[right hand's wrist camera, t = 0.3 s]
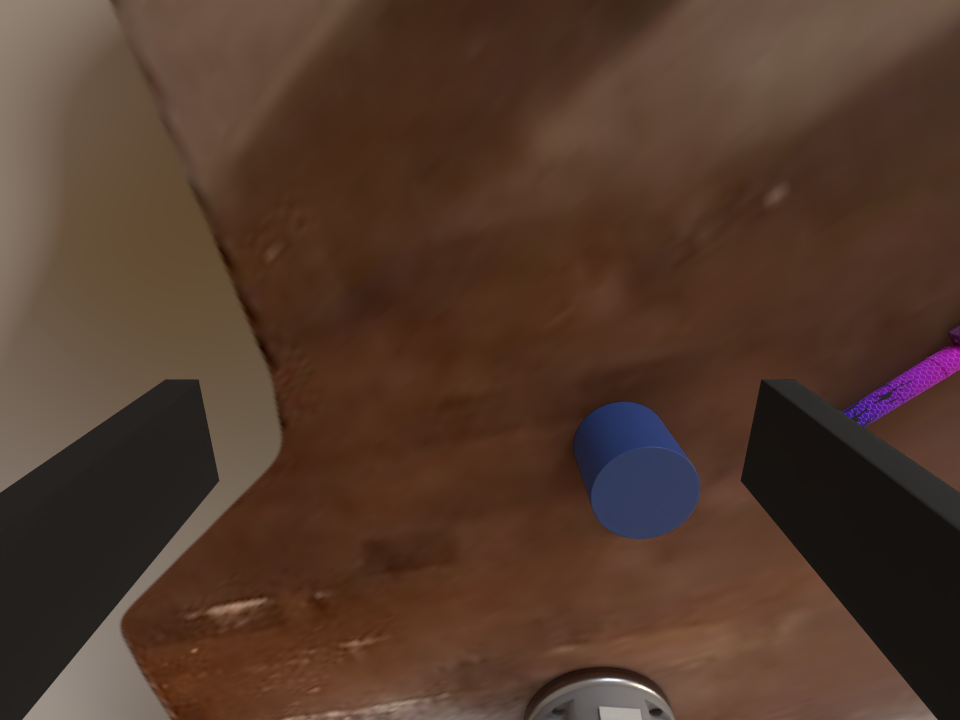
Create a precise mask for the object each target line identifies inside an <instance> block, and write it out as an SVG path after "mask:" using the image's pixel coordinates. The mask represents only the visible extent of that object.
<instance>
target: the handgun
mask: <svg viewBox="0 0 960 720" xmlns="http://www.w3.org/2000/svg"><path fill="white" fill-rule="evenodd" d="M948 333H949V335H950V337H951V340H952V342H953V344H954V345H955V346H954V347H951V346H946V347H945V348H943V349H941V350H940V351H938V352H936V353H935V354H933V355H932V356H930V357H927V358H925V360H924V361H922V362H920V363H919V364H917V365H916V366H914V367H912V368H911V369H909V370H907V371H906V372H904V373H903V374H901V375H899V376H898V377H896V378H895V379H893V380H891V381H890V382H888V383H887V384H885V385H884V386H882V387H880V388H879V389H877V390H875V391H874V392H872V393H871V394H869V395H867V396H866V397H864V398H863V399H861V400H859V401H858V402H856V403H855V404H853V405H851V406H850V407H848V408H846V409H845V410H843V411H842V413H844V414H845V415H847V416H848V417H850V418H851V419H853V420H854V421H856V422H857V423H859V424H860V425H861V426H863V427H866V426H868V425H869V424H871V423H873V422H874V421H876V420H878V419H879V418H881V417H882V416H884V415H886V414H887V413H889V412H891V411H892V410H894V409H896V408H897V407H899V406H901V405H902V404H904V403H906V402H907V401H909V400H910V399H912V398H914V397H915V396H917V395H919V394H920V393H922V392H924V391H925V390H927V389H929V388H930V387H932V386H933V385H935V384H937V383H938V382H940V381H942V380H943V379H946V378H948V377H949V376H950V375H951V374H953V373H955V372H956V371H958V370H960V325H959V326H958V327H956V328H954V329H953V330H951V331H950V332H948Z"/></svg>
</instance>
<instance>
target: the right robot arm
mask: <svg viewBox="0 0 960 720" xmlns="http://www.w3.org/2000/svg"><path fill="white" fill-rule="evenodd" d="M218 481H219V478H218V473H217V468H216V463H215V458H214V453H213V448H212V443H211V438H210V433H209V429H208V424H207V419H206V414H205V409H204V404H203V399H202V394H201V389H200V385H199V380H164V381H163V382H161V383H160V384H158V385H157V386H156V387H154V388H153V389H151V390H150V391H148V392H147V393H145V394H144V395H142V396H141V397H139V398H138V399H137V400H135V401H134V402H132V403H131V404H129V405H128V406H126V407H125V408H123V409H122V410H120V411H119V412H118V413H116V414H115V415H113V416H112V417H110V418H109V419H107V420H106V421H104V422H103V423H101V424H100V425H99V426H97V427H96V428H94V429H93V430H91V431H90V432H88V433H87V434H85V435H84V436H83V437H81V438H80V439H78V440H77V441H75V442H74V443H72V444H71V445H69V446H68V447H66V448H65V449H64V450H62V451H61V452H59V453H58V454H56V455H55V456H53V457H52V458H50V459H49V460H47V461H46V462H45V463H43V464H42V465H40V466H39V467H37V468H36V469H34V470H33V471H31V472H30V473H28V474H27V475H25V476H24V477H23V478H21V479H20V480H18V481H17V482H15V483H14V484H12V485H11V486H9V487H8V488H7V489H5V490H4V491H2V492H1V493H0V720H22V719H23V718H24V717H25V716H26V714H27V713H28V712H29V711H30V710H31V708H32V707H33V706H34V705H35V703H36V702H37V701H38V700H39V699H40V697H41V696H42V695H43V694H44V693H45V691H46V690H47V689H48V688H49V687H50V685H51V684H52V683H53V682H54V681H55V679H56V678H57V677H58V676H59V674H60V673H61V672H62V671H63V670H64V668H65V667H66V666H67V665H68V664H69V662H70V661H71V660H72V659H73V657H74V656H75V655H76V654H77V653H78V651H79V650H80V649H81V648H82V647H83V645H84V644H85V643H86V642H87V640H88V639H89V638H90V637H91V636H92V634H93V633H94V632H95V631H96V630H97V628H98V627H99V626H100V625H101V623H102V622H103V621H104V620H105V619H106V617H107V616H108V615H109V614H110V612H111V611H112V610H113V609H114V608H115V606H116V605H117V604H118V603H119V602H120V600H121V599H122V598H123V597H124V596H125V594H126V593H127V592H128V591H129V590H130V588H131V587H132V586H133V585H134V583H135V582H136V581H137V580H138V579H139V577H140V576H141V575H142V574H143V573H144V571H145V570H146V569H147V568H148V566H149V565H150V564H151V563H152V562H153V560H154V559H155V558H156V557H157V556H158V554H159V553H160V552H161V551H162V550H163V548H164V547H165V546H166V545H167V543H168V542H169V541H170V540H171V538H172V537H173V536H174V535H175V534H176V532H177V531H178V530H179V529H180V528H181V526H182V525H183V524H184V523H185V522H186V520H187V519H188V518H189V517H190V516H191V514H192V513H193V512H194V511H195V509H196V508H197V507H198V506H199V505H200V503H201V502H202V501H203V500H204V499H205V497H206V496H207V495H208V494H209V493H210V491H211V490H212V489H213V488H214V486H215V485H216V484H217V483H218ZM741 482H742V483H743V484H744V485H745V486H746V488H747V489H748V490H749V491H750V493H751V494H752V495H753V496H754V497H755V499H756V500H757V501H758V502H759V503H760V505H761V506H762V507H763V508H764V509H765V511H766V512H767V513H768V514H769V516H770V517H771V518H772V519H773V520H774V522H775V523H776V524H777V525H778V526H779V528H780V529H781V530H782V531H783V533H784V534H785V535H786V536H787V537H788V539H789V540H790V541H791V542H792V543H793V545H794V546H795V547H796V548H797V550H798V551H799V552H800V553H801V554H802V556H803V557H804V558H805V559H806V560H807V562H808V563H809V564H810V565H811V566H812V568H813V569H814V570H815V571H816V573H817V574H818V575H819V576H820V577H821V579H822V580H823V581H824V582H825V583H826V585H827V586H828V587H829V588H830V590H831V591H832V592H833V593H834V594H835V596H836V597H837V598H838V599H839V600H840V602H841V603H842V604H843V605H844V607H845V608H846V609H847V610H848V611H849V613H850V614H851V615H852V616H853V617H854V619H855V620H856V621H857V622H858V624H859V625H860V626H861V627H862V628H863V630H864V631H865V632H866V633H867V634H868V636H869V637H870V638H871V639H872V640H873V642H874V643H875V644H876V645H877V647H878V648H879V649H880V650H881V651H882V653H883V654H884V655H885V656H886V657H887V659H888V660H889V661H890V662H891V664H892V665H893V666H894V667H895V668H896V670H897V671H898V672H899V673H900V674H901V676H902V677H903V678H904V679H905V681H906V682H907V683H908V684H909V685H910V687H911V688H912V689H913V690H914V691H915V693H916V694H917V695H918V696H919V697H920V699H921V700H922V701H923V702H924V704H925V705H926V706H927V707H928V708H929V710H930V711H931V712H932V713H933V714H934V716H935V717H936V718H937V719H938V720H960V492H958V491H956V490H955V489H953V488H952V487H951V486H949V485H948V484H946V483H945V482H943V481H942V480H940V479H939V478H937V477H936V476H935V475H933V474H932V473H930V472H929V471H927V470H926V469H924V468H923V467H921V466H920V465H918V464H917V463H916V462H914V461H913V460H911V459H910V458H908V457H907V456H905V455H904V454H902V453H901V452H899V451H898V450H897V449H895V448H894V447H892V446H891V445H889V444H888V443H886V442H885V441H883V440H882V439H880V438H879V437H878V436H876V435H875V434H873V433H872V432H870V431H869V430H867V429H866V428H864V427H863V426H861V425H860V424H859V423H857V422H856V421H854V420H853V419H851V418H850V417H848V416H847V415H845V414H844V413H842V412H841V411H840V410H838V409H837V408H835V407H834V406H832V405H831V404H829V403H828V402H826V401H825V400H823V399H822V398H821V397H819V396H818V395H816V394H815V393H813V392H812V391H810V390H809V389H807V388H806V387H804V386H803V385H802V384H800V383H799V382H797V381H796V380H761V385H760V389H759V394H758V399H757V404H756V409H755V414H754V419H753V424H752V429H751V433H750V438H749V443H748V448H747V453H746V458H745V463H744V468H743V473H742V477H741ZM524 720H675V717H674V715H673V712H672V709H671V706H670V703H669V701H668V698H667V696H666V695H665V693H664V692H663V691H662V690H661V688H660V687H659V686H657V685H656V684H655V683H654V682H652V681H651V680H650V679H648V678H646V677H644V676H642V675H640V674H637V673H635V672H632V671H628V670H624V669H618V668H606V667H602V668H589V669H583V670H579V671H574V672H571V673H568V674H566V675H563V676H561V677H559V678H557V679H555V680H553V681H552V682H550V683H548V684H547V685H546V686H544V687H543V688H542V689H541V690H540V691H539V692H538V693H537V694H536V695H535V696H534V697H533V699H532V700H531V702H530V703H529V705H528V708H527V710H526V713H525V719H524Z"/></svg>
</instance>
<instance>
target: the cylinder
mask: <svg viewBox="0 0 960 720" xmlns="http://www.w3.org/2000/svg"><path fill="white" fill-rule="evenodd" d="M574 454H575V457H576V460H577V463H578V466H579V470H580V473H581V476H582V479H583V482H584V485H585V488H586V491H587V494H588V497H589V500H590V503H591V506H592V510H593V512H594V514H595V516H596V518H597V519H598V521H599V522H600V523H601V524H602V525H603V526H604V527H605V528H607V529H608V530H610V531H611V532H613V533H615V534H617V535H620V536H623V537H627V538H634V539H646V538H653V537H657V536H660V535H663V534H666V533H668V532H670V531H672V530H673V529H675V528H677V527H678V526H679V525H681V524H682V523H683V522H684V521H685V520H686V519H687V518H688V517H689V516H690V515H691V513H692V512H693V510H694V508H695V507H696V504H697V502H698V499H699V494H700V481H699V477H698V474H697V471H696V470H695V468H694V466H693V465H692V463H691V462H690V460H689V459H688V458H687V456H686V455H685V453H684V452H683V451H682V449H681V448H680V446H679V445H678V443H677V442H676V441H675V439H674V438H673V436H672V435H671V434H670V432H669V431H668V429H667V428H666V426H665V425H664V424H663V422H662V421H661V419H660V418H659V417H658V416H657V414H655V413H654V412H653V411H652V410H650V409H649V408H647V407H645V406H643V405H641V404H638V403H633V402H615V403H611V404H607V405H605V406H602V407H600V408H598V409H596V410H595V411H593V412H592V413H590V414H589V415H588V416H587V417H586V418H585V419H584V420H583V422H582V423H581V425H580V426H579V428H578V430H577V432H576V435H575V439H574Z"/></svg>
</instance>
